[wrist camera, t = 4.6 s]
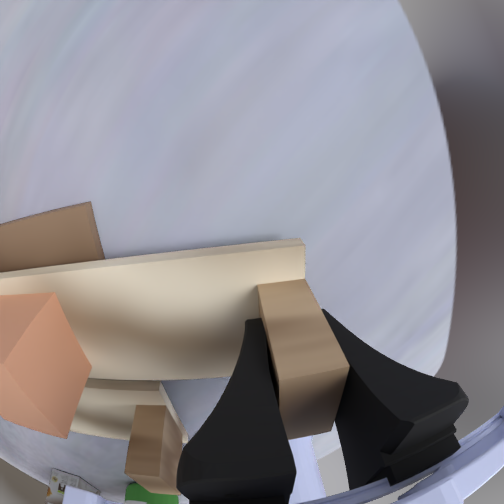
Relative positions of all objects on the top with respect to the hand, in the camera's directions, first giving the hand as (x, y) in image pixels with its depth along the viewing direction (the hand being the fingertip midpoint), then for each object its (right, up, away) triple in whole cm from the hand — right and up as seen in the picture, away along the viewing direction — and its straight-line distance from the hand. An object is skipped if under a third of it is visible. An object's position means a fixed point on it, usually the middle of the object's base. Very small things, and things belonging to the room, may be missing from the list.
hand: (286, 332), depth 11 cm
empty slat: (-17, -8, +5) cm, 19 cm away
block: (-13, -1, 0) cm, 13 cm away
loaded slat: (-9, 0, +2) cm, 9 cm away
